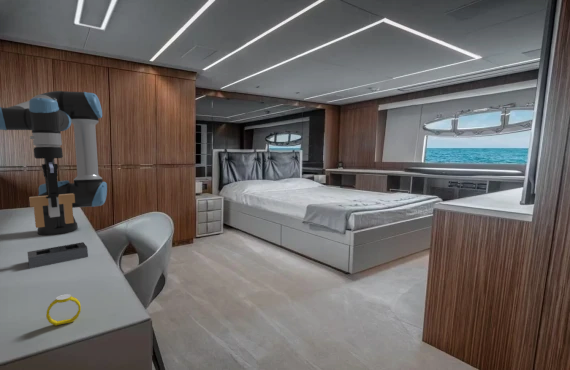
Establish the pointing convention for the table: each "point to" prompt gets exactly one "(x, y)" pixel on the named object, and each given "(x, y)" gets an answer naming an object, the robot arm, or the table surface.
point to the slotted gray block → (57, 254)
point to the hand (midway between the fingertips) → (54, 215)
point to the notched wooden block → (43, 201)
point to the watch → (59, 300)
